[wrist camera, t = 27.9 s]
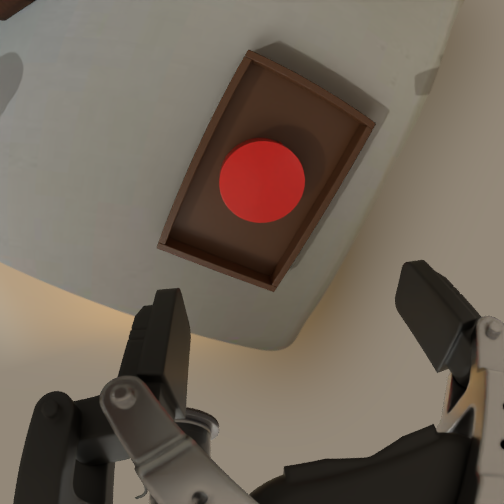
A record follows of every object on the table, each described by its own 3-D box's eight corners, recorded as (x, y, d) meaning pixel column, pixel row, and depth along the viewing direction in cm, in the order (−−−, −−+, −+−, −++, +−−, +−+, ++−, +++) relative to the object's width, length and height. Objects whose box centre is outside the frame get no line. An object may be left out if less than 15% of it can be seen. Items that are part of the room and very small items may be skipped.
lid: (242, 123, 21) (243, 125, 20) (314, 159, 23) (320, 164, 21) (206, 195, 24) (205, 203, 22) (276, 225, 26) (279, 235, 24)
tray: (270, 279, 29) (274, 292, 27) (160, 236, 26) (156, 248, 24) (365, 120, 22) (376, 123, 20) (246, 53, 19) (248, 49, 17)
